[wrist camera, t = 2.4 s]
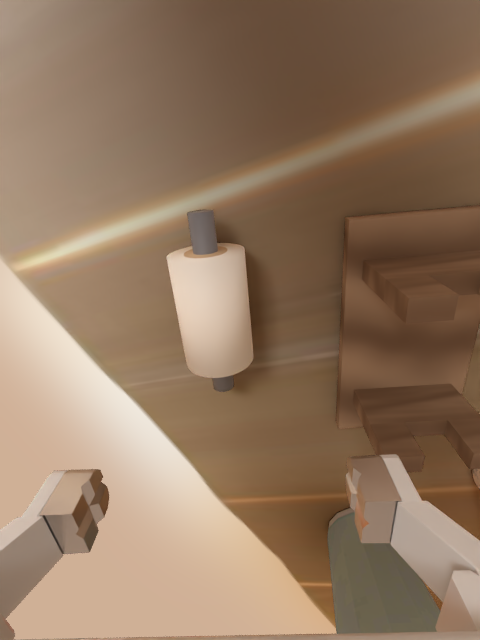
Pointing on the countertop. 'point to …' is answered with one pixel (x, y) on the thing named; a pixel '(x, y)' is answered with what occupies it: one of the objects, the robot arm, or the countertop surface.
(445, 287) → the roll holder
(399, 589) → the disposable coffee cup
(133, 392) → the countertop surface
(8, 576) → the robot arm
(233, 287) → the paper roll
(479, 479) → the teacup with lid
